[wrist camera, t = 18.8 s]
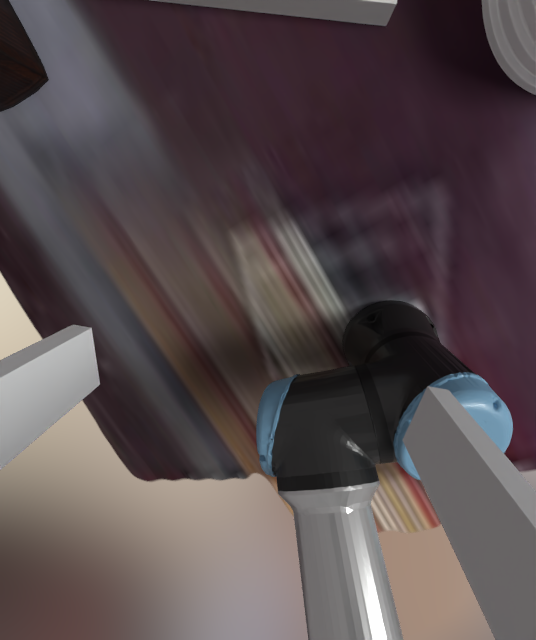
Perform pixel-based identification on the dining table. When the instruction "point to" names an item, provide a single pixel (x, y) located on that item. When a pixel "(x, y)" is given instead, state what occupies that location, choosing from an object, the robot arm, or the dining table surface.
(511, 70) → the plate stack
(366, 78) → the dining table surface
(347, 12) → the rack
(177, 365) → the dining table surface
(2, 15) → the pepper mill
